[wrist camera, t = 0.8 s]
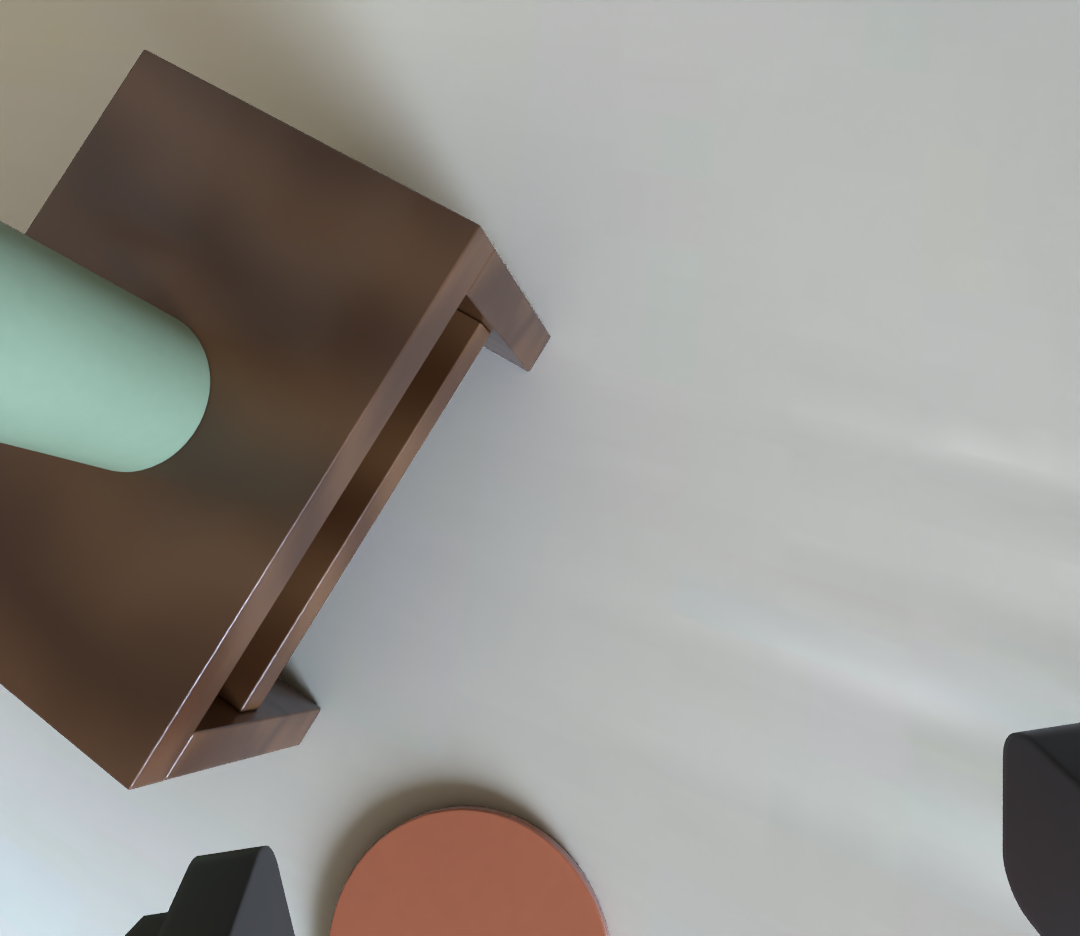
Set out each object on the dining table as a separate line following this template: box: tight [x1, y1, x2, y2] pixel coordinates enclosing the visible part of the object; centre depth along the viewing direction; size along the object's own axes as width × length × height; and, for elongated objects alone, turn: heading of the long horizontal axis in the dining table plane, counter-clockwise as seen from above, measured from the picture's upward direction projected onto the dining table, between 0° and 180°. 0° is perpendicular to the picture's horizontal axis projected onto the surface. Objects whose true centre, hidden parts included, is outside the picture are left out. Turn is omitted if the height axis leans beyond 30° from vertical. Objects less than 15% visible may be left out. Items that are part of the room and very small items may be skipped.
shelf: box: [0, 50, 550, 790], centre depth 31 cm, size 18×13×10 cm
